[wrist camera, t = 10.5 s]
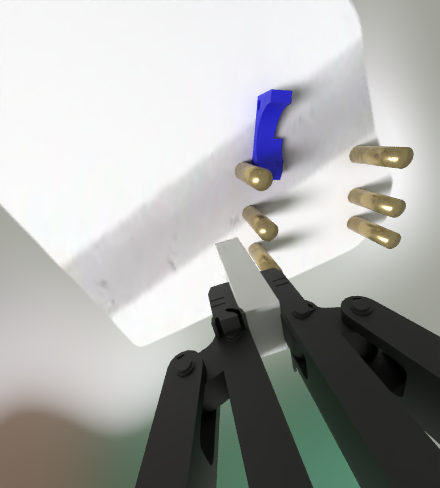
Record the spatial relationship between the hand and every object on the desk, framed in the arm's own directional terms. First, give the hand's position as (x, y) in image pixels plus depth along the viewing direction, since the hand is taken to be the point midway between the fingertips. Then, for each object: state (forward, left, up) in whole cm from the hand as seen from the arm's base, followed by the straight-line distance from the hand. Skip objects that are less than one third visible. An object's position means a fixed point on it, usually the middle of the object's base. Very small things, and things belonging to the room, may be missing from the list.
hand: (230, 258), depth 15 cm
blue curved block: (-5, +14, -29) cm, 32 cm away
